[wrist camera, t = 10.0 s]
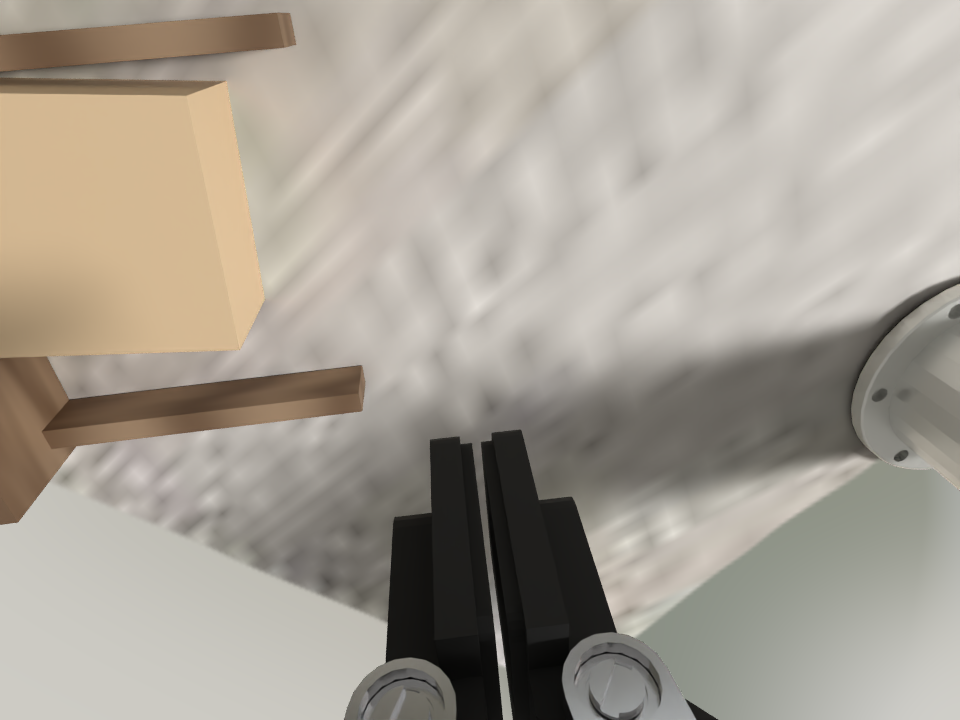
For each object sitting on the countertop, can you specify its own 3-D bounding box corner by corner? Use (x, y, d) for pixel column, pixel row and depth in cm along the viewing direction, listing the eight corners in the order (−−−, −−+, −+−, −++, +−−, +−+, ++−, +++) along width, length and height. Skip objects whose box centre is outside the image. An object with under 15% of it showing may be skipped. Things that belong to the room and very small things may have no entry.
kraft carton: (228, 80, 22) (186, 95, 18) (266, 296, 27) (239, 350, 23) (-59, 76, 21) (-176, 91, 17) (31, 302, 26) (-43, 359, 21)
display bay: (283, -20, 21) (242, -32, 16) (368, 398, 30) (361, 478, 25) (-181, 16, 20) (-387, 16, 15) (55, 436, 29) (-21, 527, 24)
